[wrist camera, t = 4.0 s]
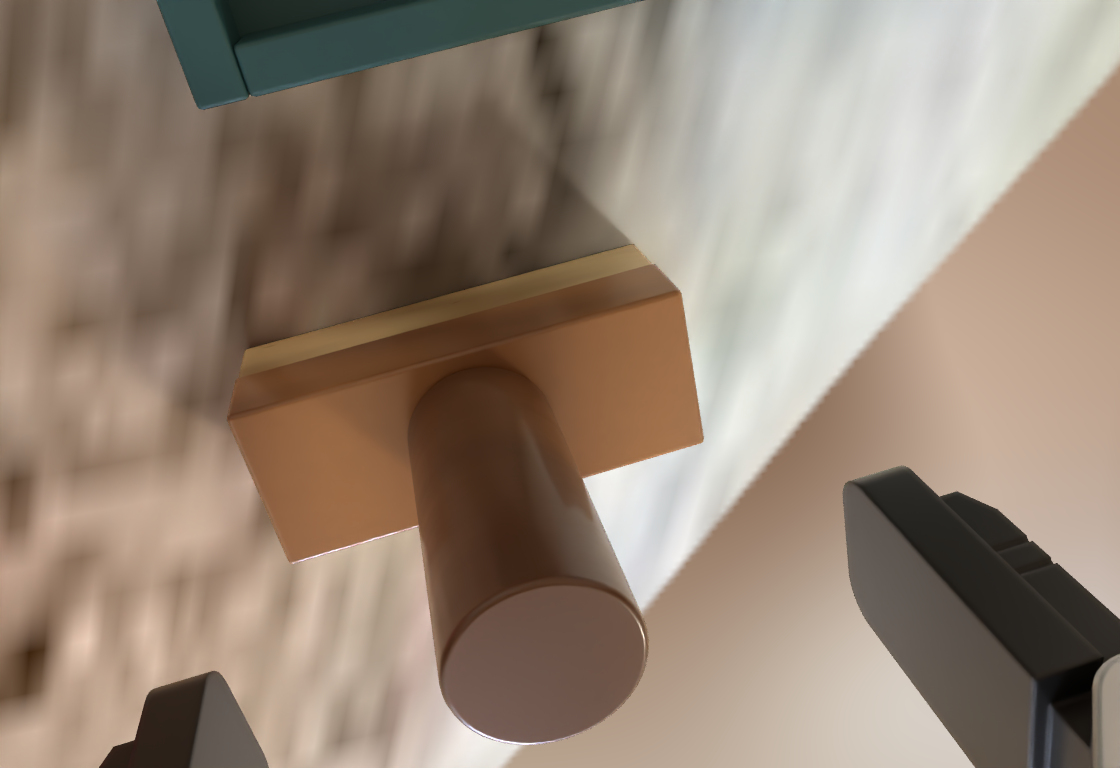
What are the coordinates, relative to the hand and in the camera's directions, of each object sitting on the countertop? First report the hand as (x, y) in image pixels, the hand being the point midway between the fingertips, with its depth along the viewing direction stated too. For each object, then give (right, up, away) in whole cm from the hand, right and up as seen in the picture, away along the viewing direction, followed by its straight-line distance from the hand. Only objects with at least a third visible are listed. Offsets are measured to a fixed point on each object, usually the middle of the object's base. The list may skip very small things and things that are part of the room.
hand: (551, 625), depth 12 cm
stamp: (-2, +3, +8) cm, 9 cm away
